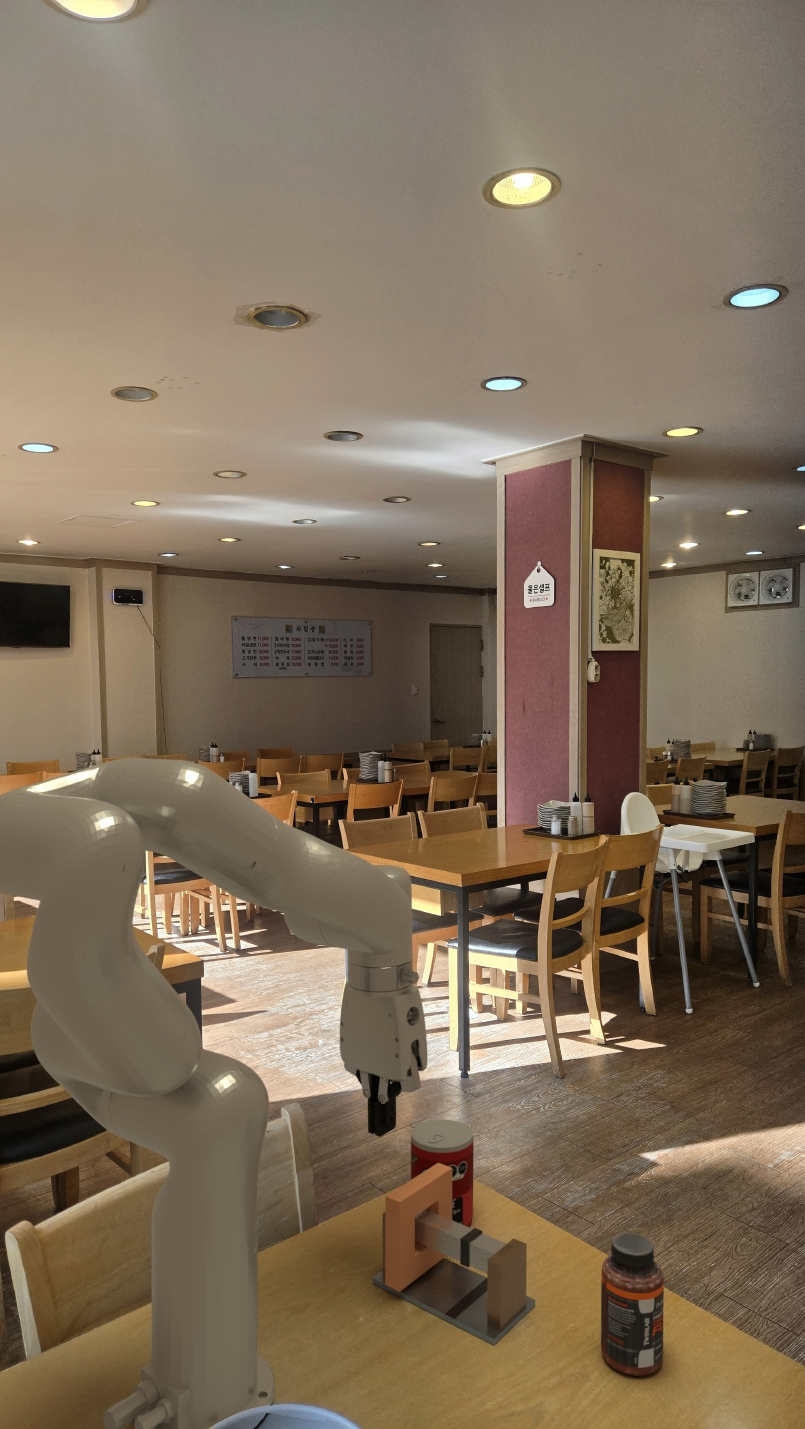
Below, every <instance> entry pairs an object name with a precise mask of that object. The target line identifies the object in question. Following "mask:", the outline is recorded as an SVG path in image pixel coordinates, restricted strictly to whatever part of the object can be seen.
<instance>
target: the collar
mask: <svg viewBox="0 0 805 1429" xmlns="http://www.w3.org/2000/svg"><path fill="white" fill-rule="evenodd" d="M384 1204H385V1208H384V1209H385V1211H384V1212H385V1285H387V1286H389V1287H391V1288H393V1289H395V1290H397V1291H399V1292H400V1291H401V1290H403V1289H404V1288H405V1287H406V1286H408V1285H409V1284H410V1283H412V1282H413V1281H414V1280H416V1279H417V1278H418V1277H419V1276H421V1275H422V1274H423V1273H425V1272H426V1271H427V1270H428V1269H430V1268H431V1267H432V1266H434V1265H435V1264H436V1263H438V1262H439V1261H440V1260H441V1259H443V1258H445V1257H448V1256H447V1255H445V1254H443V1253H440V1252H438V1251H436V1250H434V1249H432V1248H429V1247H427V1246H425V1245H423V1244H421V1243H418V1242H416V1241H415V1216H416V1215H417V1214H419V1213H420V1212H422V1211H423V1210H425V1209H427V1210H429V1211H431V1212H434V1213H436V1214H438V1215H441V1216H443V1217H445V1218H448V1219H450V1220H452V1168H451V1167H448V1166H446V1165H443V1164H440V1163H437V1164H435V1165H434V1166H432V1167H431V1168H429V1169H428V1170H426V1171H424V1172H423V1173H421V1174H420V1175H418V1176H417V1177H415V1178H413V1179H412V1180H411V1179H410V1180H409V1181H407V1182H406V1183H404V1184H403V1185H401V1186H399V1187H397V1188H396V1189H395V1190H393V1191H391V1192H390V1193H388V1194H386V1195H385V1202H384Z"/></svg>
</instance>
